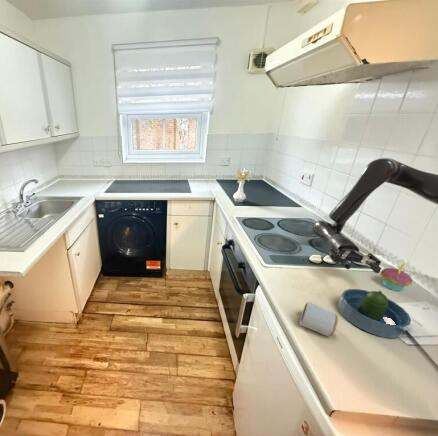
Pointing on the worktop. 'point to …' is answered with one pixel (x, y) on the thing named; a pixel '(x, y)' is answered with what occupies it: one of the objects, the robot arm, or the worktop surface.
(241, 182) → the flower vase
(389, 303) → the bowl
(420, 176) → the robot arm
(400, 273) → the cupcake
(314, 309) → the ceramic mug
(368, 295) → the green rounded cylinder
